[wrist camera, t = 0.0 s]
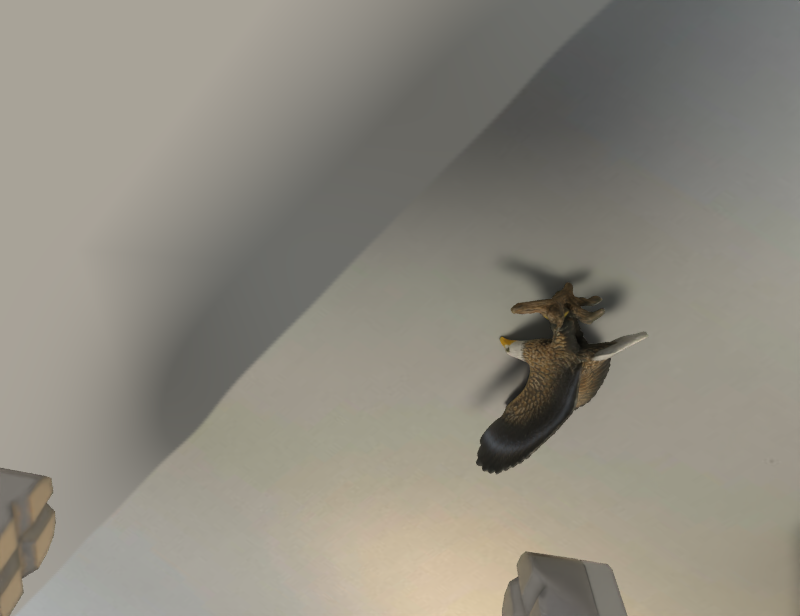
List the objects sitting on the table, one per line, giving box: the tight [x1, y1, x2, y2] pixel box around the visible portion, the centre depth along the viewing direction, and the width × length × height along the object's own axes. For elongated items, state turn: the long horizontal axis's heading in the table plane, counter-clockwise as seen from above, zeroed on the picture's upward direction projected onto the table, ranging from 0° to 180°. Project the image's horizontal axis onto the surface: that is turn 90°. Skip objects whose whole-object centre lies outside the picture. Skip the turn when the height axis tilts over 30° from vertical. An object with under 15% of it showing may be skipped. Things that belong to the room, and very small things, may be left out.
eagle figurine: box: [476, 282, 648, 474], centre depth 31 cm, size 8×7×9 cm
